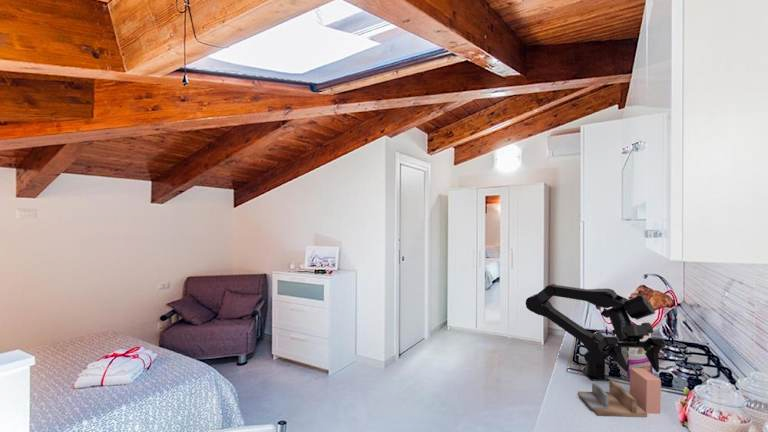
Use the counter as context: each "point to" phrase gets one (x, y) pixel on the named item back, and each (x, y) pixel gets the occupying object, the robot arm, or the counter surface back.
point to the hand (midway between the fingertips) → (642, 371)
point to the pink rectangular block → (645, 390)
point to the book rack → (612, 401)
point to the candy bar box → (635, 358)
